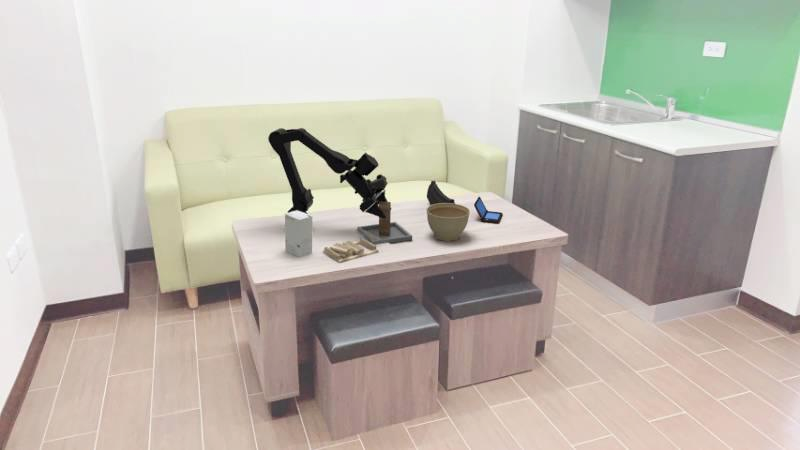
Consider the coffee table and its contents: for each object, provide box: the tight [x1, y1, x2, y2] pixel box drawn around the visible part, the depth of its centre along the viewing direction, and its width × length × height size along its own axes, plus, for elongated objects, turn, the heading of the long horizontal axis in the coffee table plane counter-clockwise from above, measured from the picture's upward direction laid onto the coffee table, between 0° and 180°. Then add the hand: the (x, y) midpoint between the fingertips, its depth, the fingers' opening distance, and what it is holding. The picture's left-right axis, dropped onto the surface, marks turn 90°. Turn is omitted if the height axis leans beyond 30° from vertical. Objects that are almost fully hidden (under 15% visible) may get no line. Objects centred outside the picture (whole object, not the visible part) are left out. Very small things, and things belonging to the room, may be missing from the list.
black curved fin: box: [426, 180, 456, 206], centre depth 244 cm, size 17×3×30 cm
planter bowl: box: [426, 203, 471, 242], centre depth 220 cm, size 16×16×11 cm
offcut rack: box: [322, 237, 379, 264], centre depth 204 cm, size 16×11×3 cm
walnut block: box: [378, 201, 392, 236], centre depth 219 cm, size 2×4×13 cm, turn 79°
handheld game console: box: [473, 196, 503, 225], centre depth 242 cm, size 12×11×7 cm
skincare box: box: [284, 210, 313, 258], centre depth 202 cm, size 8×6×15 cm
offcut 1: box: [329, 242, 353, 255], centre depth 202 cm, size 4×7×2 cm, turn 57°
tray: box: [356, 221, 413, 245], centre depth 221 cm, size 16×16×2 cm
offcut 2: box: [338, 252, 354, 259], centre depth 202 cm, size 4×7×2 cm, turn 53°
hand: (388, 214), depth 218 cm, fingers open, 9 cm apart
